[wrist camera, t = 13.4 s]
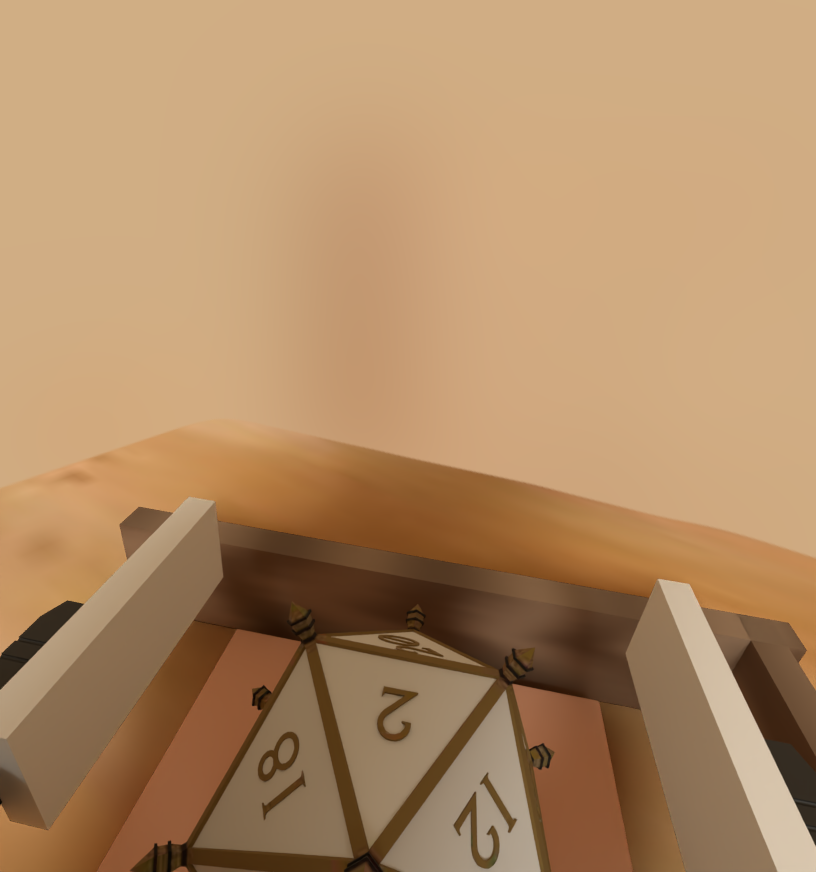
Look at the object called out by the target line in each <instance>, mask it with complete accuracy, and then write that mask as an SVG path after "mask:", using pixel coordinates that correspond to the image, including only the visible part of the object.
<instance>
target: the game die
mask: <svg viewBox="0 0 816 872" xmlns="http://www.w3.org/2000/svg"><path fill="white" fill-rule="evenodd" d="M311 612H312V611H311V609H309V610H307V609H305V608H303V607H301V606H300V605H298V604H296V603H294V602H292V601H291V607H290V614H289V620H287V623H288V624H289V625H290V626H291V627H292V628H293V630H292V632H293V633H294V634H295V635H296V636H299V637H300V639H301V644H300V645H299V647H298V649H297V650H296V652H295V654H294V656H293V657H292V659H291V661H290V663H289V664H288V666H287V668H286V670H285V671H284V673H283V675H282V677H281V678H280V680H279V682H278V684H277V685H276V687H275V689H274V691H273V692H272V693H271V691H270V690H268V689H267V688H266V687H265V686H264V685H263V686H262V687H260V688H254V689H252V695H253V699H252V706H257V709H258V710H262V709H263V710H262V711H261V713H260V715H259V717H258V718H257V720H256V722H255V724H254V725H253V727H252V729H251V731H250V732H249V734H248V736H247V738H246V739H245V741H244V743H243V745H242V746H241V748H240V750H239V752H238V753H237V755H236V757H235V758H234V760H233V762H232V764H231V765H230V767H229V769H228V771H227V772H226V774H225V776H224V778H223V779H222V781H221V783H220V785H219V786H218V788H217V790H216V792H215V793H214V795H213V797H212V799H211V800H210V802H209V804H208V806H207V807H206V809H205V811H204V812H203V814H202V816H201V818H200V819H199V821H198V823H197V825H196V826H195V828H194V830H193V832H192V833H191V835H190V837H189V839H188V840H187V842H186V843H184V844H182V845H180V844H171V840H170V841H168V844H167V845H162V846H157V843H155V844H154V848H153V849H152V850H151V851H150V852H149V853H148V854H146V855H145V856H144V857H143V858H142V859H141V860H140V861H139V862H138V863H137V864H136V865H135V866H134V867H133V868H132V869H131V870H130V871H132V872H172V871H174V870H176V869H177V868H179V867H186V868H187V870H188V871H189V872H551V867H550V862H549V856H548V850H547V844H546V839H545V833H544V827H543V821H542V815H541V810H540V804H539V798H538V792H537V787H536V781H535V775H534V769H533V767H536V768H538V769H539V770H542V767H546V768H547V769H548V768H549V766H550V761H551V759H552V757H553V755H554V753H555V752H554V751H552V750H551V749H549V748H547V747H546V746H545V744H544V743H542V744H540V745H538V746H537V745H536V746H534V747H532V748H531V749H529V747H528V743H527V739H526V736H525V732H524V728H523V724H522V720H521V716H520V712H519V708H518V705H517V701H516V697H515V693H514V689H513V685H512V683H513V681H514V680H516V679H518V680H519V679H522V678H524V677H526V676H525V673H526V672H530V671H532V670H534V668H533V667H532V664H533V658H534V652H535V647H534V648H526V649H518V650H516V649H514V648H512V654H511V655H510V656H509V657H508V656H506V657H505V663H504V665H503V668H501V669H499V670H498V669H496V668H494V667H492V666H490V665H487V664H485V663H483V662H481V661H479V660H477V659H475V658H473V657H471V656H469V655H467V654H465V653H463V652H460V651H458V650H456V649H454V648H452V647H450V646H448V645H446V644H444V643H442V642H440V641H438V640H435V639H433V638H431V637H429V636H427V635H425V634H423V633H421V632H420V631H419V630H420V628H421V627H422V626H423V625H424V622H423V619H424V618H425V617H426V615H425V614H423V612H422V610H421V608H420V607H419V605H418V604H417V605H416V606H415V607H414V608H413V609H412V610H411V611H408V612H407V616H408V619H406V623H407V625H408V629H407V630H388V631H368V632H348V633H328V634H316V632H315V631H314V623H315V619H312V617H311V615H310V613H311Z"/></svg>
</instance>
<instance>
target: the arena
mask: <svg viewBox="0 0 816 872" xmlns="http://www.w3.org/2000/svg"><path fill="white" fill-rule="evenodd" d="M172 514H173V513H171V512H165V511H159V510H154V509H148V508H143V507H138V508H137V509H136V510H135V511H134V512H133V513H132V514H131V515H130V516H128V517H127V518H126V519H125V520H124V521H123V522H122V523H121V524H120V529H121V534H122V538H123V543H124V548H125V552H126V557H127V560H128V559H129V558H130V557H131V556H132V555H133V554H134V553H135V552H136V550H137V549H138V548H139V547H140V546H141V545H142V544H143V543H144V542H145V541H146V540H147V539H148V538H149V537H150V536H151V535H152V534H153V533H154V532H155V531H156V530H157V529H158V528H159V527H160V526H161V525H162V524H163V523H164V522H165V521H166V520H167V519H168V518H169V517H170V516H171V515H172ZM217 522H218V531H219V541H220V551H221V560H222V570H223V578H222V580H221V581H220V583H219V584H218V585H217V587H216V588H215V590H214V591H213V593H212V594H211V596H210V597H209V598H208V600H207V601H206V603H205V604H204V606H203V607H202V609H201V610H200V611H199V613H198V614H197V616H196V617H195V619H194V620H196V621H201V622H206V623H211V624H216V625H221V626H226V627H231V628H236V629H241V630H246V631H251V632H256V633H261V634H266V635H271V636H276V637H281V638H286V639H291V640H296V641H301V639H300V637H299V636H296V635H295V634H294V633H293V632H292V630H293V628H292V627H291V626H290V625H289V624H288V623H287V620H289V614H290V607H291V601H292V602H294V603H296V604H298V605H300V606H301V607H303V608H305V609H307V610H309V609H311V611H312V612H311V613H310V615H311V617H312V619H315V623H314V631H315V632H316V634H328V633H348V632H368V631H388V630H407V629H408V625H407V623H406V619H408V616H407V612H408V611H411V610H412V609H413V608H414V607H415V606H416V605H417V604H418V605H419V607H420V608H421V610H422V612H423V614H425V615H426V617H425V618H424V619H423V622H424V625H423V626H422V627H421V628H420V630H419V631H420V632H421V633H423V634H425V635H427V636H429V637H431V638H433V639H435V640H438V641H440V642H442V643H444V644H446V645H448V646H450V647H452V648H454V649H456V650H458V651H460V652H463V653H465V654H467V655H469V656H471V657H473V658H475V659H477V660H479V661H481V662H483V663H485V664H487V665H490V666H492V667H494V668H496V669H498V670H499V669H501V668H503V665H504V663H505V657H506V656H508V657H509V656H510V655H511V654H512V648H514V649H516V650H518V649H526V648H534V647H535V652H534V658H533V664H532V667H533V668H534V670H532V671H530V672H526V673H525V676H526V677H524V678H522V679H519V680H518V679H516V680H514V681H513V683H512V684H516V685H521V686H526V687H532V688H537V689H542V690H547V691H552V692H557V693H562V694H567V695H572V696H577V697H582V698H587V699H592V700H597V701H602V702H607V703H612V704H617V705H622V706H627V707H632V708H637V709H641V708H640V704H639V701H638V697H637V693H636V690H635V686H634V682H633V679H632V675H631V672H630V668H629V664H628V661H627V657H626V651H627V649H628V646H629V644H630V642H631V639H632V637H633V635H634V632H635V630H636V628H637V625H638V623H639V621H640V619H641V616H642V614H643V612H644V609H645V607H646V605H647V602H648V600H649V598H646V597H641V596H635V595H629V594H624V593H618V592H613V591H607V590H602V589H596V588H590V587H585V586H579V585H574V584H568V583H562V582H557V581H551V580H546V579H540V578H534V577H529V576H523V575H518V574H512V573H506V572H501V571H495V570H490V569H484V568H478V567H473V566H467V565H462V564H456V563H450V562H445V561H439V560H434V559H428V558H422V557H417V556H411V555H406V554H400V553H394V552H389V551H383V550H378V549H372V548H367V547H361V546H355V545H350V544H344V543H339V542H333V541H327V540H322V539H316V538H311V537H305V536H299V535H294V534H288V533H283V532H277V531H271V530H266V529H260V528H255V527H249V526H243V525H238V524H232V523H227V522H221V521H217ZM701 609H702V612H703V614H704V616H705V618H706V620H707V622H708V624H709V626H710V628H711V630H712V632H713V634H714V636H715V638H716V641H717V643H718V645H719V647H720V649H721V651H722V653H723V655H724V657H725V659H726V661H727V663H728V665H729V667H730V670H731V672H732V674H733V676H734V678H735V680H736V682H737V684H738V686H739V688H740V690H741V692H742V694H743V697H744V699H745V701H746V703H747V705H748V707H749V709H750V711H751V713H752V715H753V717H754V719H755V721H756V723H757V726H758V728H759V730H760V732H761V734H762V736H763V738H764V739H768V740H773V741H778V742H783V743H788V744H791V745H792V746H793V747H794V748H795V750H796V751H797V752H798V753H799V754H800V755H801V756H802V757H803V759H804V760H805V761H806V762H807V763H808V764H809V765H810V767H811V768H812V769H813V770H814V771H815V772H816V691H815V689H814V687H813V686H812V684H811V683H810V681H809V679H808V678H807V676H806V675H805V673H804V671H803V670H802V668H801V667H800V665H799V664H798V663H799V661H800V660H801V658H802V657H803V655H804V654H805V652H806V651H807V650H806V648H805V647H804V645H803V644H802V642H801V641H800V639H799V638H798V636H797V635H796V633H795V632H794V630H793V629H792V627H791V626H790V624H789V623H786V622H781V621H775V620H769V619H764V618H758V617H753V616H747V615H741V614H736V613H730V612H725V611H719V610H713V609H708V608H702V607H701Z"/></svg>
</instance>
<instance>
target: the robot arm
mask: <svg viewBox="0 0 816 872" xmlns="http://www.w3.org/2000/svg"><path fill="white" fill-rule="evenodd" d="M222 578H223V570H222V560H221V551H220V541H219V531H218V522H217V512H216V502H215V501H211V500H205V499H199V498H194V497H188V498H187V499H186V500H185V501H184V502H183V503H182V504H181V505H180V506H179V507H178V508H177V510H176V511H175V512H174V513H173V514H172V515H171V516H170V517H169V518H168V519H167V520H166V521H165V522H164V523H163V524H162V525H161V526H160V527H159V528H158V529H157V530H156V531H155V532H154V533H153V534H152V535H151V536H150V537H149V538H148V539H147V540H146V541H145V542H144V543H143V544H142V545H141V546H140V547H139V548H138V549H137V550H136V552H135V553H134V554H133V555H132V556H131V557H130V558H129V559H128V560H127V561H126V562H125V563H124V564H123V565H122V566H121V567H120V568H119V569H118V570H117V571H116V572H115V573H114V574H113V575H112V576H111V577H110V578H109V579H108V580H107V581H106V582H105V583H104V584H103V585H102V586H101V587H100V588H99V589H98V590H97V591H96V592H95V593H94V595H93V596H92V597H91V598H90V599H89V600H88V601H87V602H86V603H85V604H82V603H77V602H72V601H66V602H64V603H62V604H61V605H59V606H57V607H56V608H54V609H52V610H50V611H49V612H47V613H45V614H44V615H42V616H40V617H39V618H38V619H37V620H36V621H35V622H34V623H33V624H32V625H31V626H30V627H29V628H28V629H27V630H26V631H25V632H24V633H23V634H21V635H20V636H19V639H18V641H14V642H13V643H12V644H11V645H10V646H9V647H8V648H7V649H6V650H5V651H4V652H3V653H2V655H1V657H0V805H1V804H2V806H3V808H4V810H5V812H6V814H7V816H8V818H9V820H10V821H13V822H17V823H21V824H25V825H29V826H33V827H37V828H41V829H45V830H49V829H50V827H51V826H52V824H53V823H54V821H55V820H56V819H57V817H58V816H59V814H60V813H61V811H62V810H63V808H64V807H65V806H66V804H67V803H68V801H69V800H70V798H71V797H72V795H73V794H74V792H75V791H76V790H77V788H78V787H79V785H80V784H81V782H82V781H83V779H84V778H85V777H86V775H87V774H88V772H89V771H90V769H91V768H92V766H93V765H94V764H95V762H96V761H97V759H98V758H99V756H100V755H101V753H102V752H103V750H104V749H105V748H106V746H107V745H108V743H109V742H110V740H111V739H112V737H113V736H114V735H115V733H116V732H117V730H118V729H119V727H120V726H121V724H122V723H123V722H124V720H125V719H126V717H127V716H128V714H129V713H130V711H131V710H132V709H133V707H134V706H135V704H136V703H137V701H138V700H139V698H140V697H141V695H142V694H143V693H144V691H145V690H146V688H147V687H148V685H149V684H150V682H151V681H152V680H153V678H154V677H155V675H156V674H157V672H158V671H159V669H160V668H161V667H162V665H163V664H164V662H165V661H166V659H167V658H168V656H169V655H170V653H171V652H172V651H173V649H174V648H175V646H176V645H177V643H178V642H179V640H180V639H181V638H182V636H183V635H184V633H185V632H186V630H187V629H188V627H189V626H190V625H191V623H192V622H193V620H194V619H195V617H196V616H197V614H198V613H199V611H200V610H201V609H202V607H203V606H204V604H205V603H206V601H207V600H208V598H209V597H210V596H211V594H212V593H213V591H214V590H215V588H216V587H217V585H218V584H219V583H220V581H221V580H222ZM626 657H627V661H628V664H629V668H630V672H631V675H632V679H633V682H634V686H635V690H636V693H637V697H638V701H639V704H640V708H641V711H642V715H643V719H644V722H645V726H646V730H647V733H648V737H649V740H650V744H651V748H652V751H653V755H654V759H655V762H656V766H657V769H658V773H659V777H660V780H661V784H662V788H663V791H664V795H665V799H666V802H667V806H668V809H669V813H670V817H671V820H672V824H673V828H674V831H675V835H676V838H677V842H678V846H679V849H680V853H681V857H682V860H683V864H684V867H685V871H686V872H816V772H815V771H814V770H813V769H812V768H811V767H810V765H809V764H808V763H807V762H806V761H805V760H804V759H803V757H802V756H801V755H800V754H799V753H798V752H797V751H796V750H795V748H794V747H793V746H792V745H791V744H788V743H783V742H778V741H773V740H768V739H764V738H763V736H762V734H761V732H760V730H759V728H758V726H757V723H756V721H755V719H754V717H753V715H752V713H751V711H750V709H749V707H748V705H747V703H746V701H745V699H744V697H743V694H742V692H741V690H740V688H739V686H738V684H737V682H736V680H735V678H734V676H733V674H732V672H731V670H730V667H729V665H728V663H727V661H726V659H725V657H724V655H723V653H722V651H721V649H720V647H719V645H718V643H717V641H716V638H715V636H714V634H713V632H712V630H711V628H710V626H709V624H708V622H707V620H706V618H705V616H704V614H703V612H702V609H701V607H700V605H699V603H698V601H697V599H696V597H695V595H694V593H693V591H692V589H691V587H690V585H689V584H686V583H680V582H674V581H668V580H663V579H657V581H656V584H655V586H654V588H653V591H652V593H651V595H650V598H649V600H648V602H647V605H646V607H645V609H644V612H643V614H642V616H641V619H640V621H639V623H638V625H637V628H636V630H635V632H634V635H633V637H632V639H631V642H630V644H629V646H628V649H627V651H626Z"/></svg>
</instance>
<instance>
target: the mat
mask: <svg viewBox="0 0 816 872" xmlns="http://www.w3.org/2000/svg"><path fill="white" fill-rule="evenodd" d="M300 644H301V642H300V641H295V640H290V639H285V638H279V637H274V636H269V635H264V634H259V633H254V632H249V631H244V630H239V629H237V630H236V632H235V633H234V635H233V637H232V638H231V640H230V642H229V644H228V645H227V647H226V649H225V651H224V652H223V654H222V656H221V657H220V659H219V661H218V663H217V664H216V666H215V668H214V670H213V671H212V673H211V675H210V676H209V678H208V680H207V682H206V683H205V685H204V687H203V689H202V690H201V692H200V694H199V695H198V697H197V699H196V701H195V702H194V704H193V706H192V708H191V709H190V711H189V713H188V714H187V716H186V718H185V720H184V721H183V723H182V725H181V727H180V728H179V730H178V732H177V733H176V735H175V737H174V739H173V740H172V742H171V744H170V745H169V747H168V749H167V751H166V752H165V754H164V756H163V758H162V759H161V761H160V763H159V764H158V766H157V768H156V770H155V771H154V773H153V775H152V777H151V778H150V780H149V782H148V783H147V785H146V787H145V789H144V790H143V792H142V794H141V796H140V797H139V799H138V801H137V802H136V804H135V806H134V808H133V809H132V811H131V813H130V815H129V816H128V818H127V820H126V821H125V823H124V825H123V827H122V828H121V830H120V832H119V834H118V835H117V837H116V839H115V840H114V842H113V844H112V846H111V847H110V849H109V851H108V852H107V854H106V856H105V858H104V859H103V861H102V863H101V865H100V866H99V868H98V870H97V871H96V872H132V871H130V870H131V869H132V868H133V867H134V866H135V865H136V864H137V863H138V862H139V861H140V860H141V859H142V858H143V857H144V856H145V855H146V854H148V853H149V852H150V851H151V850H152V849H153V848H154V844H155V843H157V846H162V845H167V844H168V841H170V840H171V844H180V845H182V844H184V843H186V842H187V840H188V839H189V837H190V835H191V833H192V832H193V830H194V828H195V826H196V825H197V823H198V821H199V819H200V818H201V816H202V814H203V812H204V811H205V809H206V807H207V806H208V804H209V802H210V800H211V799H212V797H213V795H214V793H215V792H216V790H217V788H218V786H219V785H220V783H221V781H222V779H223V778H224V776H225V774H226V772H227V771H228V769H229V767H230V765H231V764H232V762H233V760H234V758H235V757H236V755H237V753H238V752H239V750H240V748H241V746H242V745H243V743H244V741H245V739H246V738H247V736H248V734H249V732H250V731H251V729H252V727H253V725H254V724H255V722H256V720H257V718H258V717H259V715H260V713H261V711H262V710H263V709H262V710H258V709H257V706H252V699H253V695H252V689H254V688H260V687H262V686H263V685H264V686H265V687H266V688H267V689H268V690H270V691H271V693H272V692H273V691H274V689H275V687H276V685H277V684H278V682H279V680H280V678H281V677H282V675H283V673H284V671H285V670H286V668H287V666H288V664H289V663H290V661H291V659H292V657H293V656H294V654H295V652H296V650H297V649H298V647H299V645H300ZM512 685H513V689H514V693H515V697H516V701H517V705H518V708H519V712H520V716H521V720H522V724H523V728H524V732H525V736H526V739H527V743H528V747H529V749H531V748H532V747H534V746H536V745H537V746H538V745H540V744H542V743H544V744H545V746H546V747H547V748H549V749H551V750H552V751H554V752H555V753H554V755H553V757H552V759H551V761H550V766H549V768H548V769H547V768H546V767H542V770H539V769H538V768H536V767H533V769H534V775H535V781H536V787H537V792H538V798H539V804H540V810H541V815H542V821H543V827H544V833H545V839H546V844H547V850H548V856H549V862H550V867H551V872H633V868H632V863H631V858H630V853H629V848H628V843H627V838H626V833H625V828H624V823H623V818H622V813H621V808H620V803H619V798H618V793H617V788H616V783H615V778H614V773H613V768H612V763H611V758H610V753H609V748H608V743H607V738H606V733H605V728H604V723H603V718H602V713H601V708H600V703H599V701H595V700H590V699H585V698H580V697H575V696H570V695H565V694H560V693H555V692H550V691H545V690H540V689H535V688H530V687H525V686H520V685H515V684H512ZM172 872H189V871H188V870H187V868H186V867H179V868H177V869H176V870H174V871H172Z"/></svg>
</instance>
